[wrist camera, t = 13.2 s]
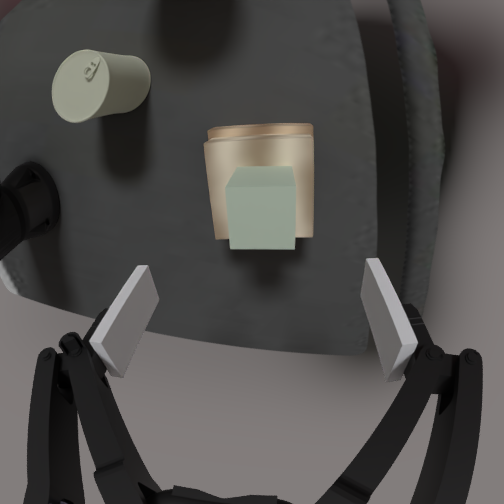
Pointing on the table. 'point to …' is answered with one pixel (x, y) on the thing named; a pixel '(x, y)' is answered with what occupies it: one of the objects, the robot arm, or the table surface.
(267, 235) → the green block
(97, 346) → the robot arm
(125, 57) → the can
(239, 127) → the block
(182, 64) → the table surface
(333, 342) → the table surface
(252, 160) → the tower top
